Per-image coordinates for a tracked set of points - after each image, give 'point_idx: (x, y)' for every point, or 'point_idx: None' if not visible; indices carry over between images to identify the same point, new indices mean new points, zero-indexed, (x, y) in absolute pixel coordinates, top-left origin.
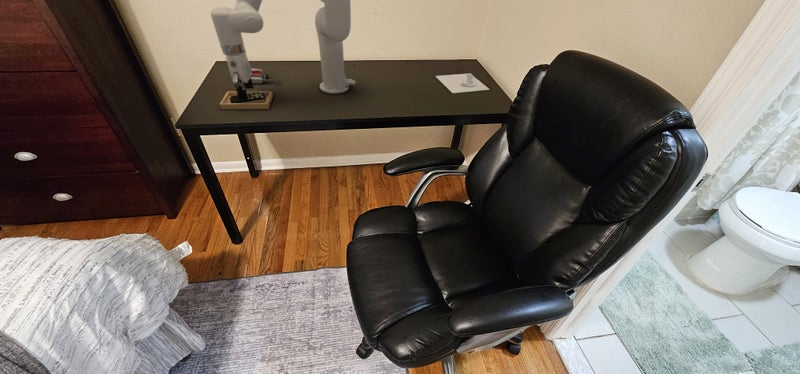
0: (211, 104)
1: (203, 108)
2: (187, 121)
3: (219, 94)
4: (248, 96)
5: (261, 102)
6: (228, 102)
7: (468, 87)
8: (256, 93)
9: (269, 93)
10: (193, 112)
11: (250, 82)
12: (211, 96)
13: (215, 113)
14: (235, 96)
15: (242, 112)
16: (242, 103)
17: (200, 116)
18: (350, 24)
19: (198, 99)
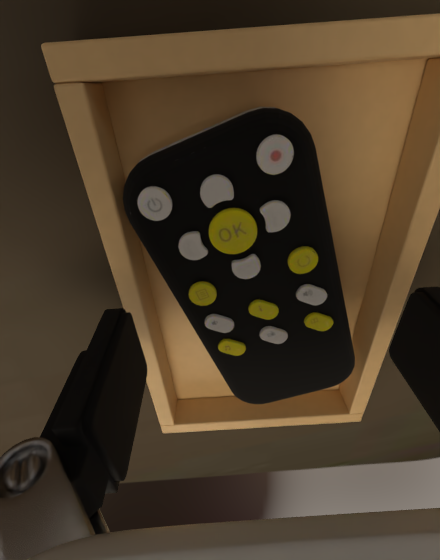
0: (274, 432)
1: (317, 443)
2: (436, 452)
3: (150, 435)
4: (263, 301)
5: None
6: None
7: None
8: (186, 246)
9: (129, 68)
10: (351, 458)
11: (109, 382)
12: (180, 452)
13: (390, 397)
14: (255, 383)
15: (432, 275)
16: (388, 311)
17: (403, 433)
18: None
19: (218, 475)
